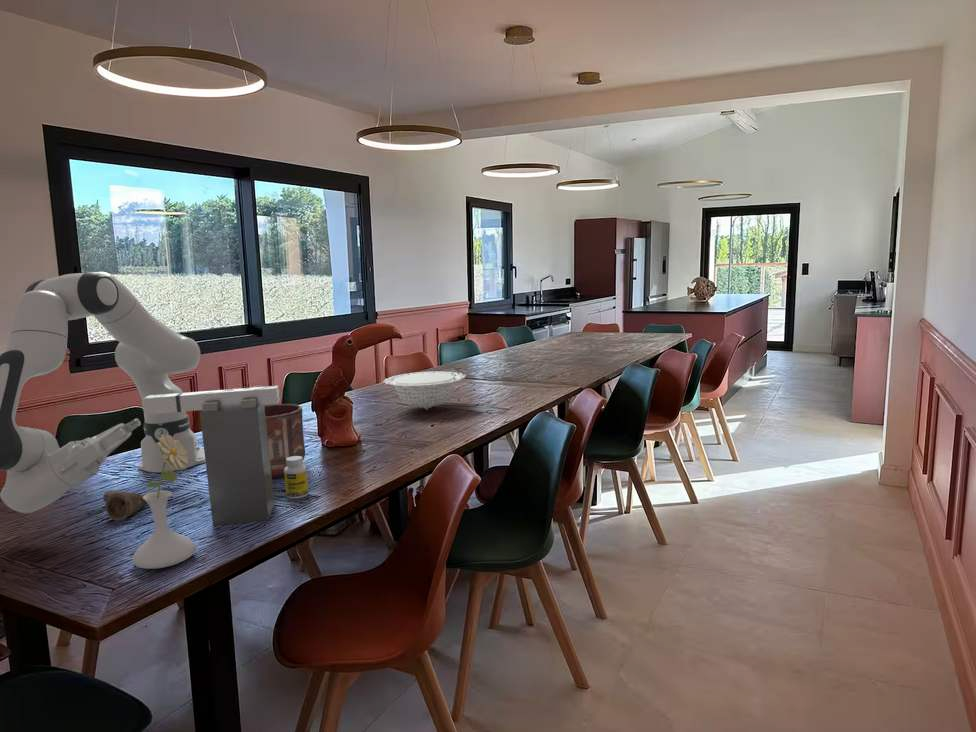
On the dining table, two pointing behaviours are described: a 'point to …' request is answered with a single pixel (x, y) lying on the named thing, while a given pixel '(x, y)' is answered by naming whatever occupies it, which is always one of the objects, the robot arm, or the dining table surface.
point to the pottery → (284, 435)
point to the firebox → (237, 462)
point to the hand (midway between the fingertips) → (131, 426)
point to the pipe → (122, 504)
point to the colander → (425, 386)
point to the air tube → (209, 399)
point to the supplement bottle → (295, 478)
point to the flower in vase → (164, 516)
